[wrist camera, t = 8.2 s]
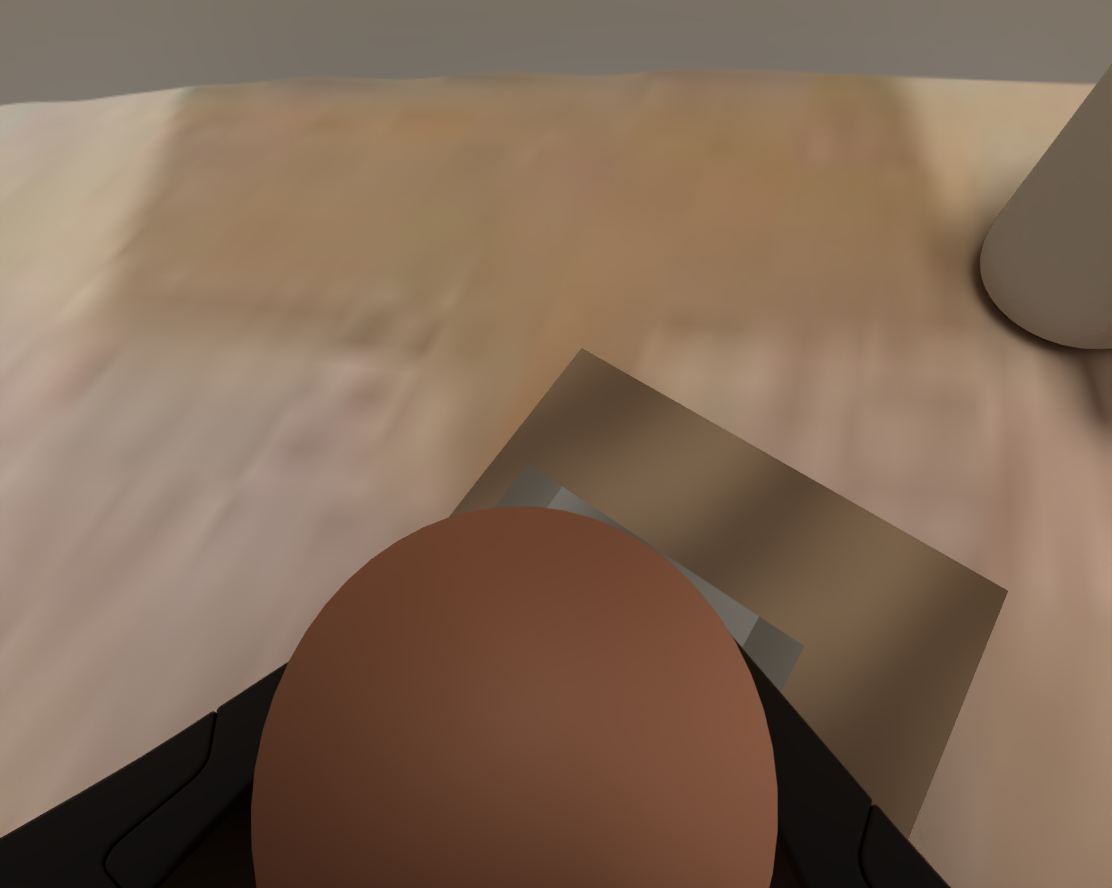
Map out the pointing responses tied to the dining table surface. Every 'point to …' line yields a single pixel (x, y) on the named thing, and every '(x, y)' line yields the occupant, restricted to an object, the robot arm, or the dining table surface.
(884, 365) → the dining table surface
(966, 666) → the socket board
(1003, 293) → the cup
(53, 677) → the dining table surface
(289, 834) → the peg
